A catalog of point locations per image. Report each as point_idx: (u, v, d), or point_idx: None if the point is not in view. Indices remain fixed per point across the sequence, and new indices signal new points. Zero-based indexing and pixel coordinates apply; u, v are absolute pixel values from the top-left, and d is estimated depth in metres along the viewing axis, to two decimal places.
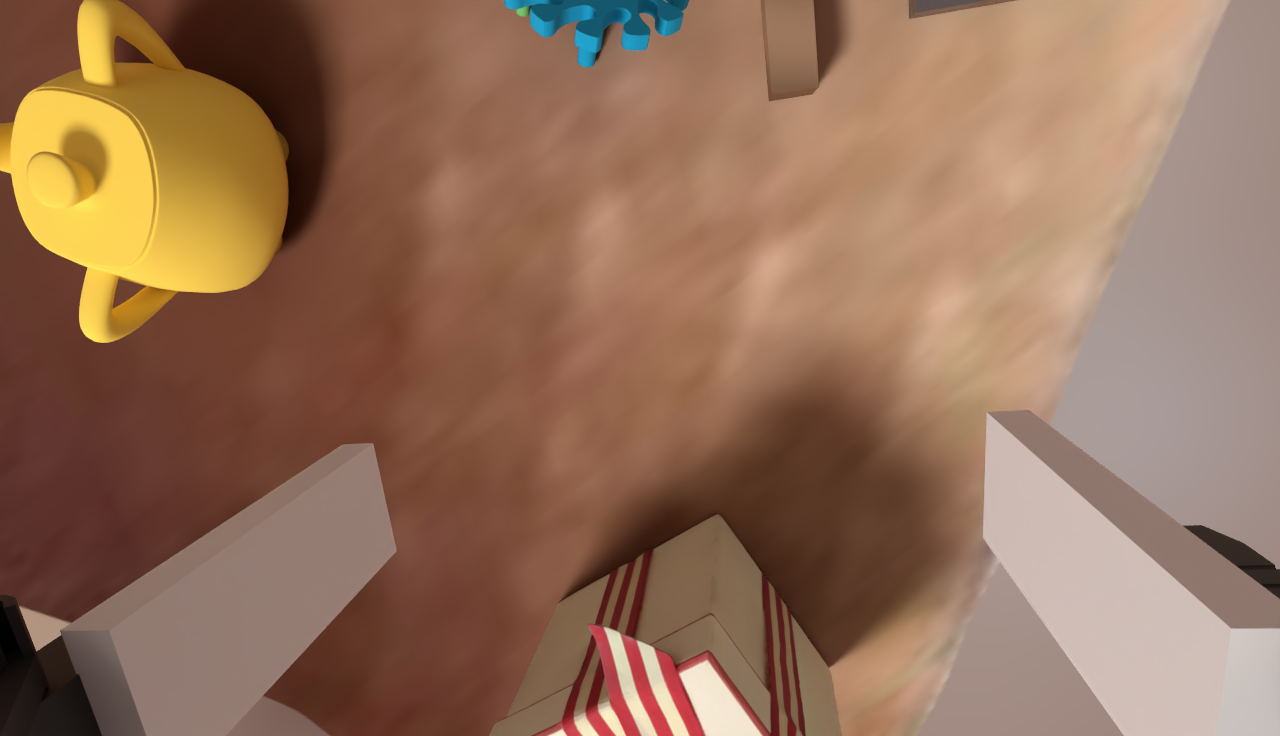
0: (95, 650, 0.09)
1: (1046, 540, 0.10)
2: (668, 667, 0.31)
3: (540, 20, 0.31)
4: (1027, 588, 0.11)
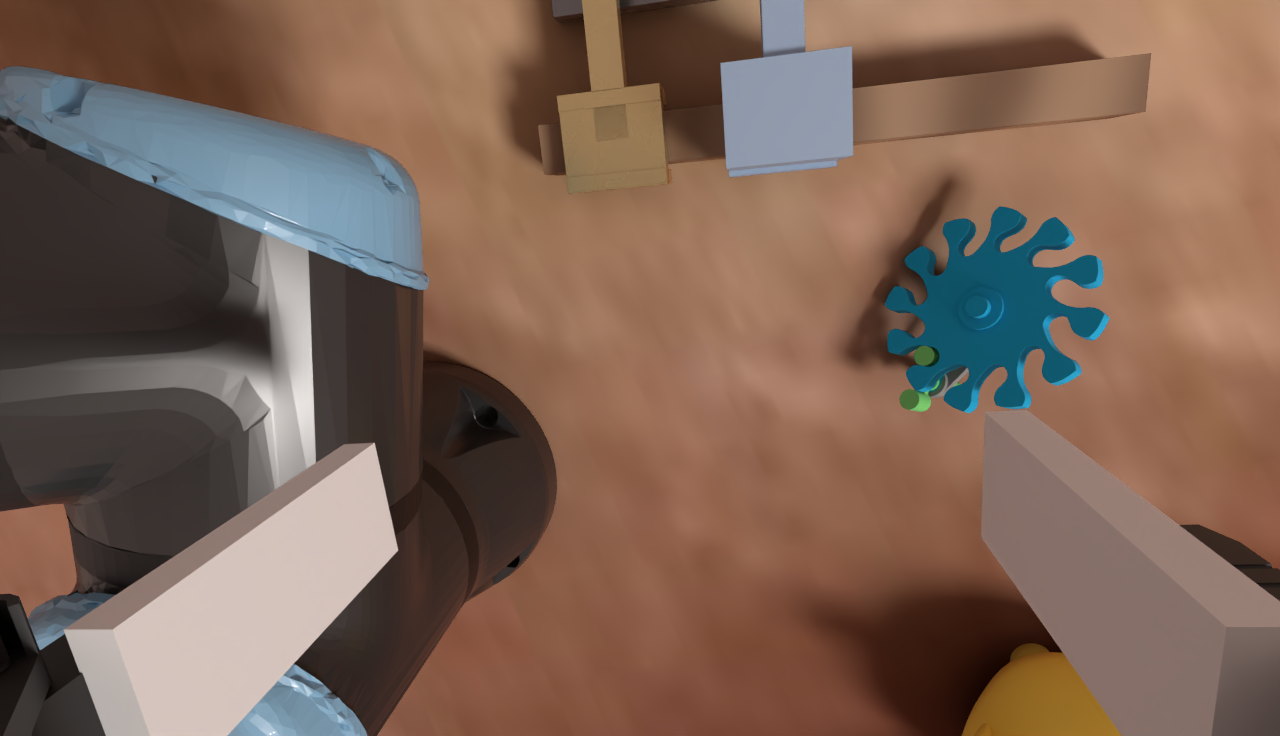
0: (99, 649, 0.09)
1: (1043, 539, 0.10)
2: None
3: (1071, 374, 0.28)
4: (1025, 587, 0.11)
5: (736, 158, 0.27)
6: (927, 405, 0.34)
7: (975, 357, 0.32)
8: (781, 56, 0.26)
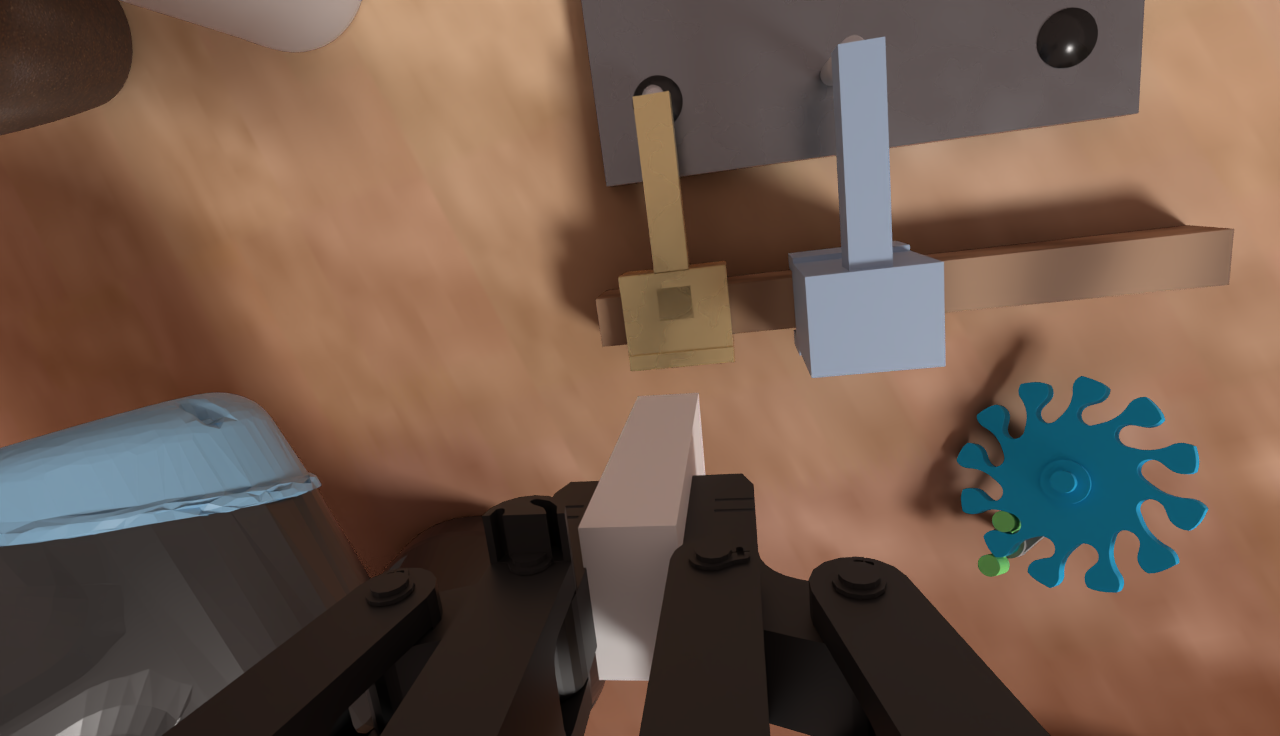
0: (608, 545, 0.10)
1: None
2: None
3: None
4: None
5: (822, 368, 0.26)
6: (1006, 569, 0.33)
7: (1061, 532, 0.31)
8: (869, 271, 0.25)
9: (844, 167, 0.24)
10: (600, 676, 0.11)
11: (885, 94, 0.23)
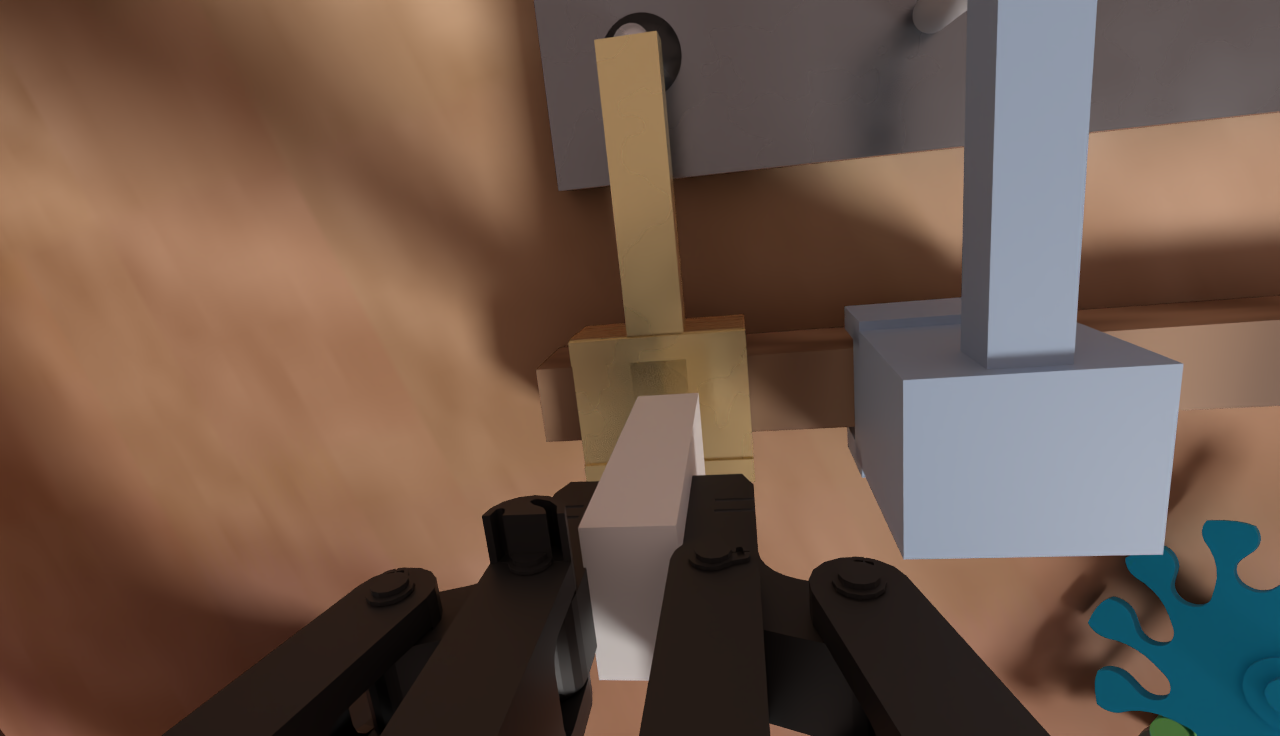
0: (608, 545, 0.10)
1: None
2: None
3: None
4: None
5: (924, 544, 0.14)
6: None
7: None
8: (1031, 375, 0.13)
9: (993, 172, 0.12)
10: (600, 675, 0.11)
11: (1092, 25, 0.11)
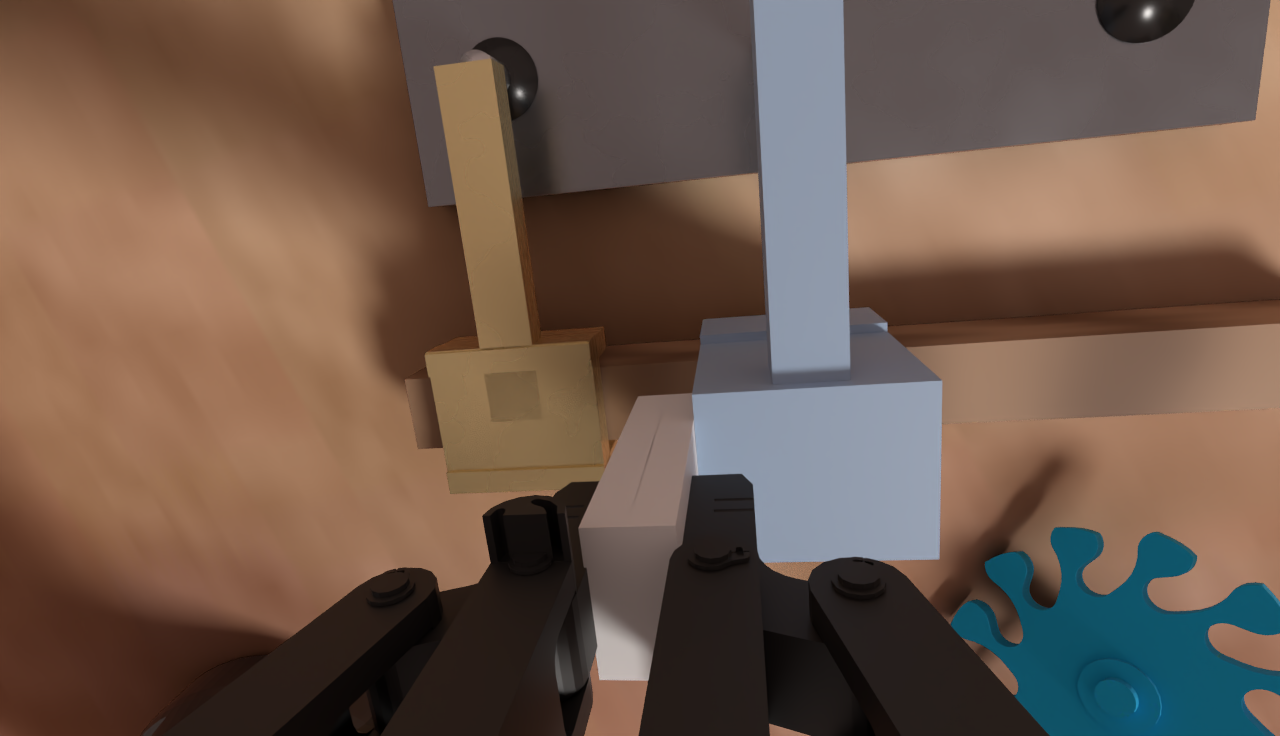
0: (609, 545, 0.10)
1: None
2: None
3: None
4: None
5: None
6: None
7: None
8: (806, 391, 0.13)
9: (764, 200, 0.13)
10: (601, 676, 0.11)
11: (840, 65, 0.12)
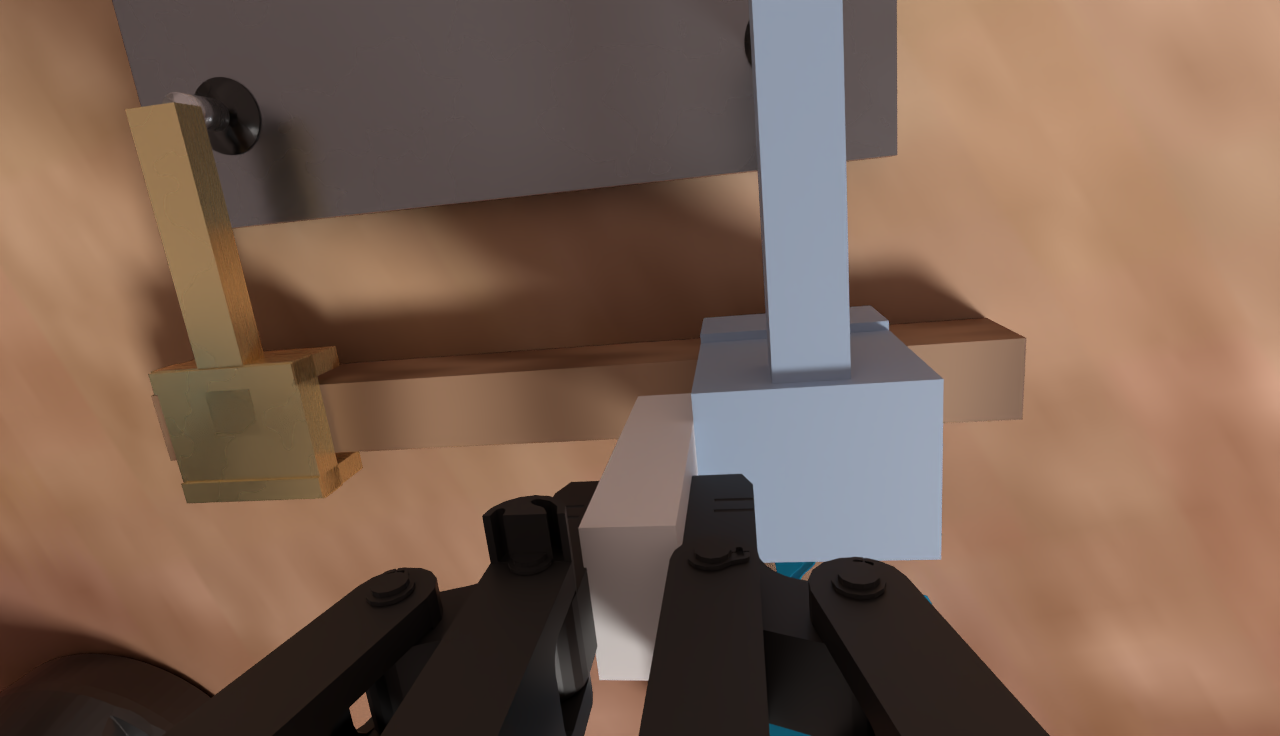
0: (609, 545, 0.10)
1: None
2: None
3: None
4: None
5: None
6: None
7: None
8: (806, 389, 0.13)
9: (763, 198, 0.13)
10: (600, 675, 0.11)
11: (840, 61, 0.12)
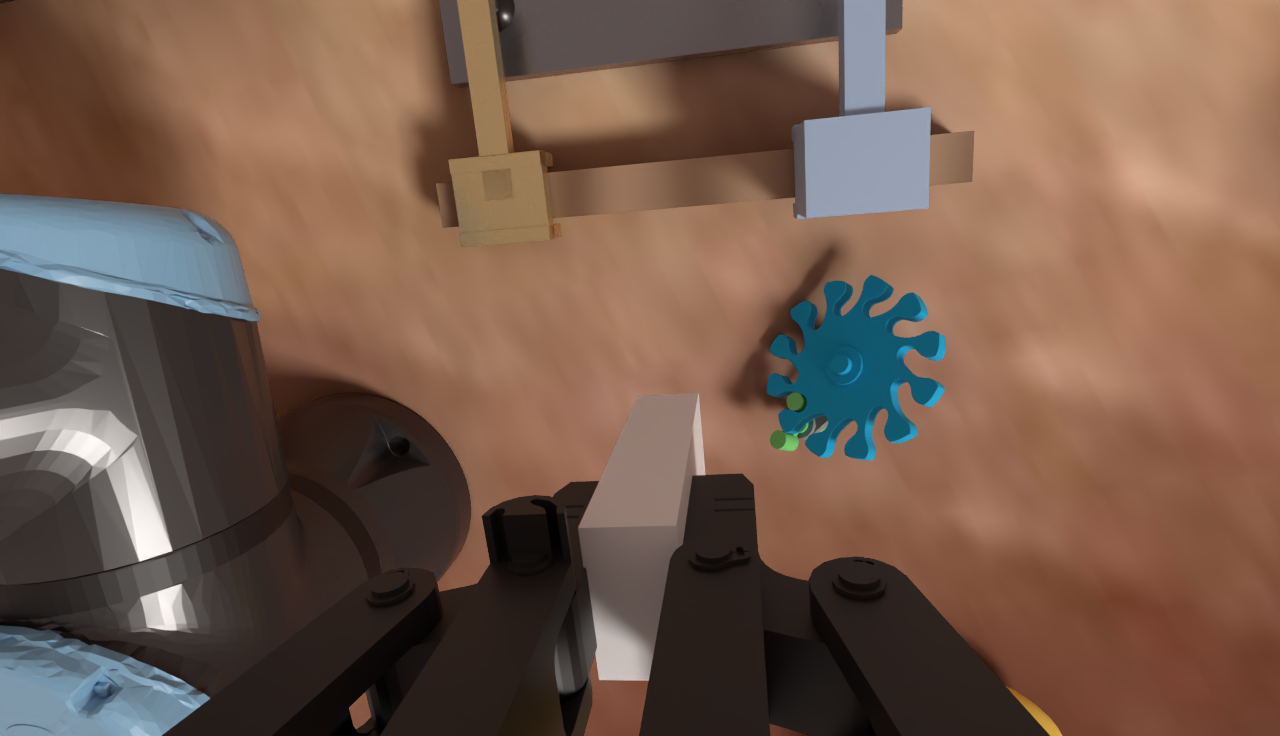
0: (608, 545, 0.10)
1: None
2: None
3: (906, 436, 0.32)
4: None
5: (816, 209, 0.28)
6: (795, 446, 0.37)
7: (834, 409, 0.35)
8: (863, 115, 0.27)
9: (844, 17, 0.27)
10: (600, 676, 0.11)
11: None
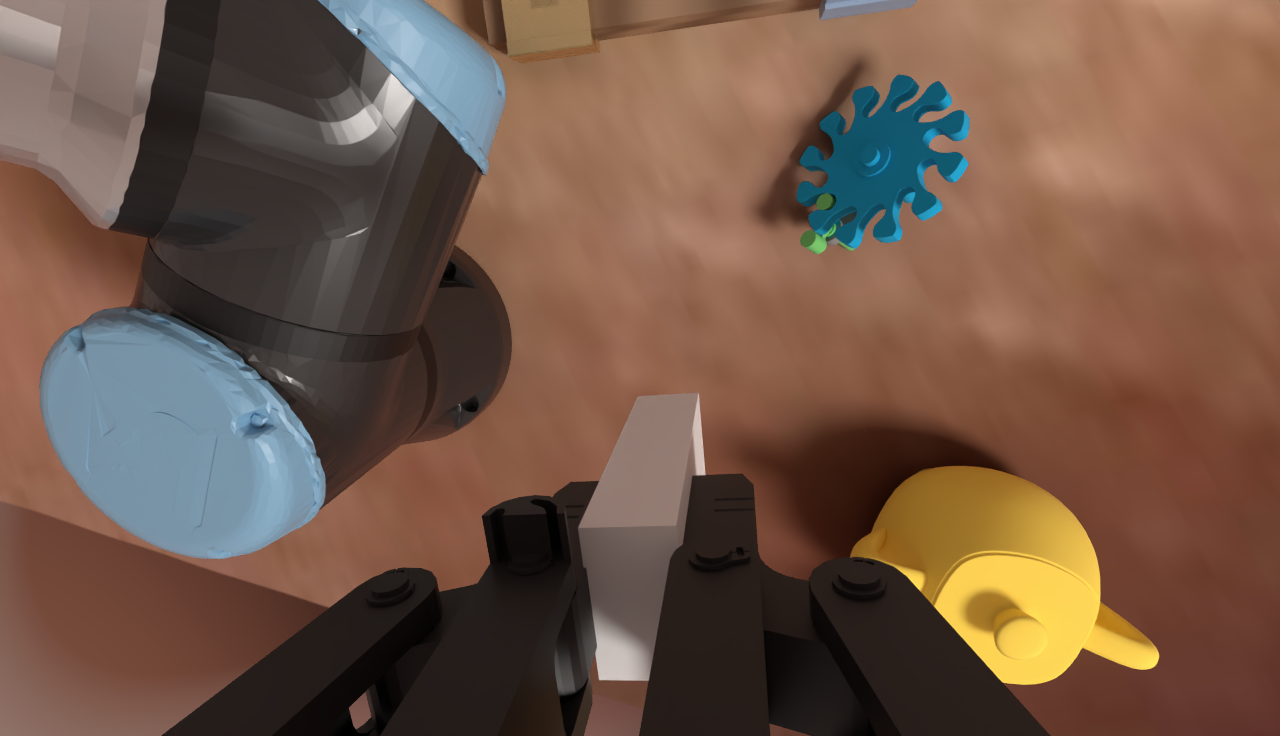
0: (608, 545, 0.10)
1: None
2: None
3: (932, 207, 0.34)
4: None
5: None
6: (823, 247, 0.40)
7: (863, 199, 0.37)
8: None
9: None
10: (600, 675, 0.11)
11: None
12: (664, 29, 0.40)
